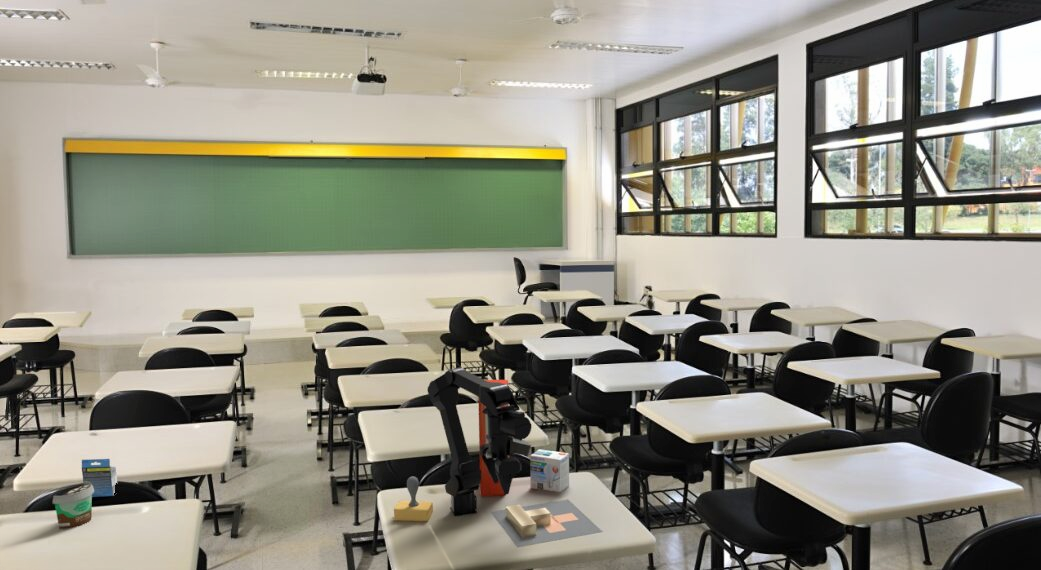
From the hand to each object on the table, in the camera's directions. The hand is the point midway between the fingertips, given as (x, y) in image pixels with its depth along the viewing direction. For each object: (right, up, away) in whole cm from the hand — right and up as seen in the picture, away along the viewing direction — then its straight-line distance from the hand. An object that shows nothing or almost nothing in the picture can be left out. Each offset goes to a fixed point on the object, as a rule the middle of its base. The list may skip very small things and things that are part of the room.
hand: (501, 488), depth 203 cm
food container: (-121, -14, +14) cm, 123 cm away
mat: (+12, -11, +6) cm, 17 cm away
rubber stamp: (-25, -12, +12) cm, 30 cm away
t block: (+8, -11, +4) cm, 14 cm away
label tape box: (-127, -12, +35) cm, 132 cm away
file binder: (-2, -9, +34) cm, 35 cm away
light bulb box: (+14, -9, +32) cm, 36 cm away
